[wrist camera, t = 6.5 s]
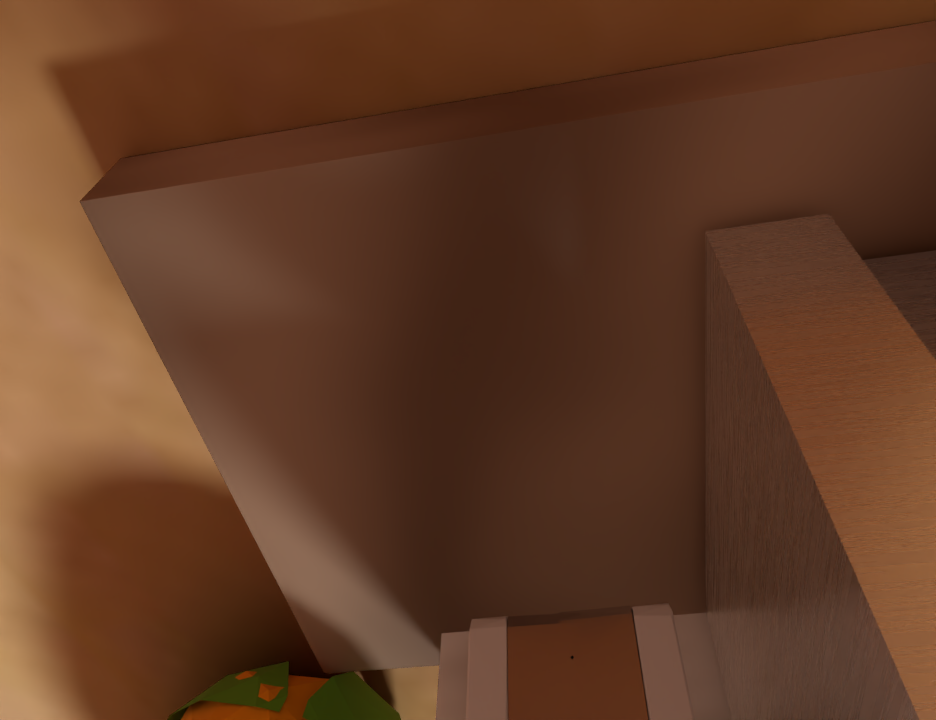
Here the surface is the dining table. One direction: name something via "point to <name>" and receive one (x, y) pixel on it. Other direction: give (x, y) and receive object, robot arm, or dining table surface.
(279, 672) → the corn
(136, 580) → the dining table surface
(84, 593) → the dining table surface
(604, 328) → the gauge stand
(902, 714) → the plunger
